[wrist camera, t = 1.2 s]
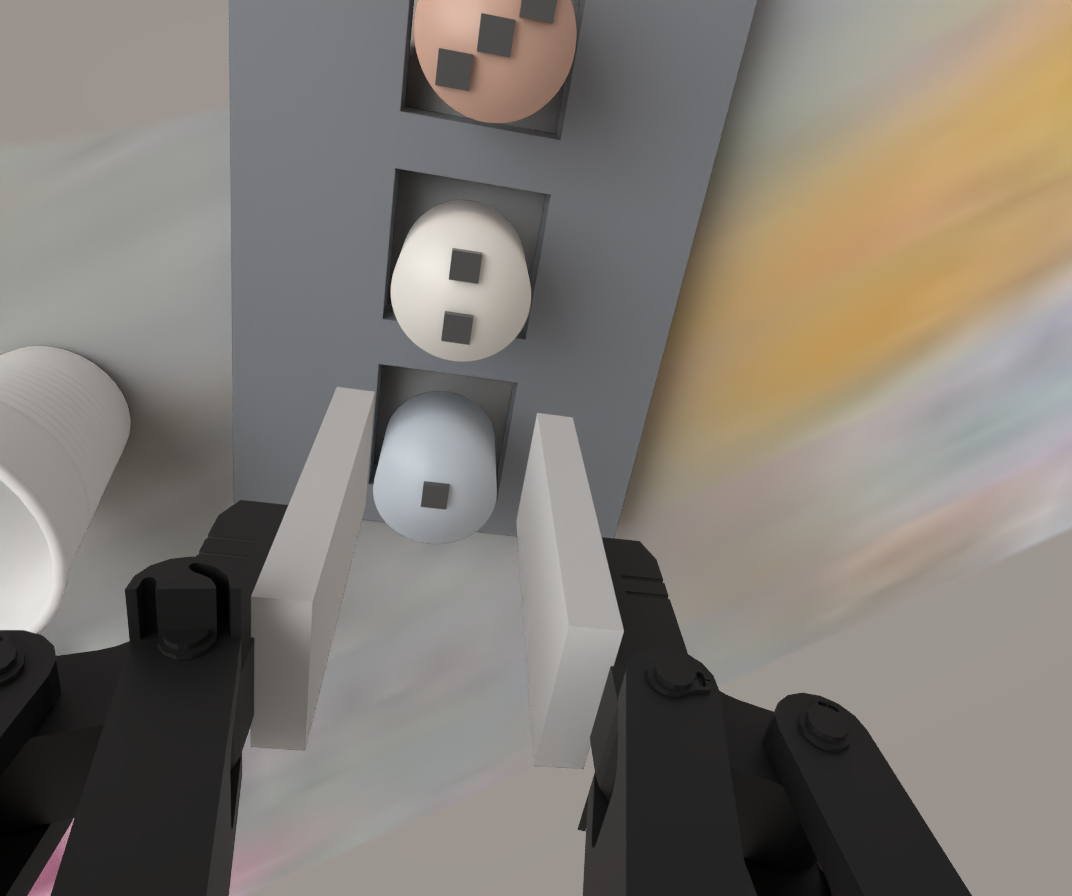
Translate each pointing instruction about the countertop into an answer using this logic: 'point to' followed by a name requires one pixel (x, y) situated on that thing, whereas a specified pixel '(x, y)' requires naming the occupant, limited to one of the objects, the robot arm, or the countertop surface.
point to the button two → (461, 282)
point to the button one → (437, 469)
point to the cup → (51, 472)
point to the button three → (495, 54)
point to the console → (480, 156)
